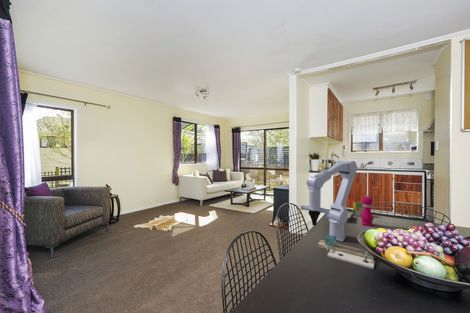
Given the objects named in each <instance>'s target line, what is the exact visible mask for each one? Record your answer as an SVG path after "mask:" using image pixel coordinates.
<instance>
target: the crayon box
mask: <svg viewBox="0 0 470 313" xmlns="http://www.w3.org/2000/svg"><path fill="white" fill-rule="evenodd" d="M352 205H353V206H352V208H353V210H352V214H353V217H361V214H362V213H363V210H364V206H363V202H362V200H355V202H353V203H352Z"/></svg>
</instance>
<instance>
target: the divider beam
mask: <svg viewBox="0 0 470 313" xmlns="http://www.w3.org/2000/svg"><path fill="white" fill-rule="evenodd" d="M317 247H318V248H322V249H325V250H326V245H325V239H324V240H322V239H320V240H319V242H318V243H317ZM331 249H332V250H336V251H340V252H344V253H348V254H352V255H356V256H360V257H364V258H365V261H367V259H371V260H374V257H375V256H374V257H373V256H372V255H371V254H370V253H368V252H367V251H366V250H365V249H364V248H363V247H362V246H361V248H357V247H353V246H349V245H344V244H340V243H338V242H336V244H335V245H334V247H333V246H328V251H330V250H331Z"/></svg>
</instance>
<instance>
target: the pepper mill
mask: <svg viewBox="0 0 470 313" xmlns="http://www.w3.org/2000/svg"><path fill="white" fill-rule="evenodd" d="M361 201H362V202H363V206H364V210H363V213H362V214H361V216H360V219H361V226H364V227H373V221H374V215H373V213H372V207H373V205H372V204H373V202H374V201H373V199H372V198H371V197H370V195H369V194H366V195H365V196H364V197H363V198H362V199H361Z"/></svg>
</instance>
